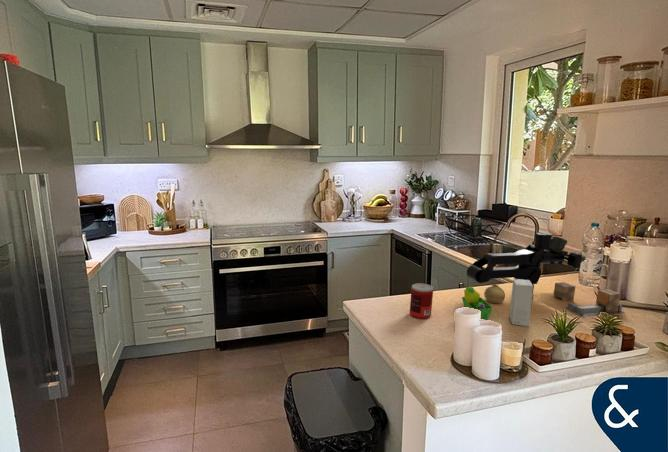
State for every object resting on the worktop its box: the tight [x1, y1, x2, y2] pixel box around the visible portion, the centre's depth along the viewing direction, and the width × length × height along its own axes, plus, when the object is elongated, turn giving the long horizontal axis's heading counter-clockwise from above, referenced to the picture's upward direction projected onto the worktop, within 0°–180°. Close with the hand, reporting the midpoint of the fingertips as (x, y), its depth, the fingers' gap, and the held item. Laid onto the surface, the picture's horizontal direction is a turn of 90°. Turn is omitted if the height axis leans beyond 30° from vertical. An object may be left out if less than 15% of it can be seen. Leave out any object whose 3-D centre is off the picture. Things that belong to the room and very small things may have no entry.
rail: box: [564, 302, 626, 318], centre depth 157 cm, size 20×9×3 cm, turn 106°
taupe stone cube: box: [595, 288, 622, 312], centre depth 158 cm, size 6×5×7 cm
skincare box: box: [509, 278, 534, 328], centre depth 145 cm, size 8×6×15 cm
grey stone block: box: [553, 281, 576, 302], centre depth 169 cm, size 6×5×7 cm
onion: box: [483, 283, 506, 304], centre depth 165 cm, size 8×8×7 cm
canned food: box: [409, 282, 434, 320], centre depth 148 cm, size 8×8×11 cm
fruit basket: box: [461, 286, 494, 321], centre depth 150 cm, size 11×9×11 cm
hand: (576, 255), depth 178 cm, fingers open, 9 cm apart
